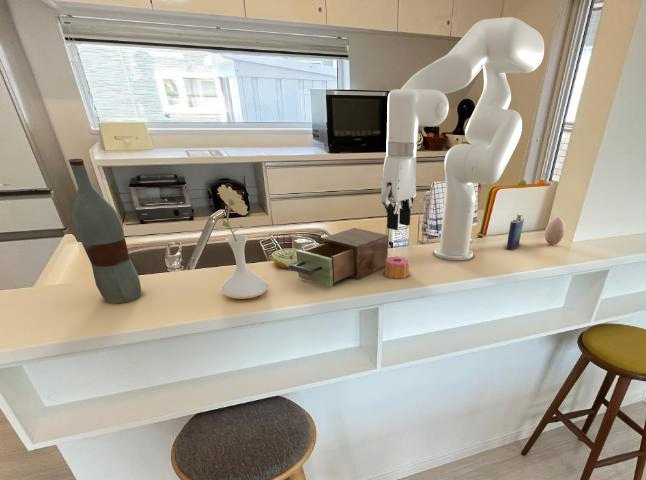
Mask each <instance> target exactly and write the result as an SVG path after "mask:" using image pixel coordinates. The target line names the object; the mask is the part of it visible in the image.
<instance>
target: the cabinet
mask: <svg viewBox="0 0 646 480" xmlns="http://www.w3.org/2000/svg"><path fill="white" fill-rule="evenodd" d="M327 242H329V243H333V244H337V245H341V246H346V247H350V248H354V249H355V274H353V275H351V276H348V277H347V278H352V279H356V280H359V279H361V278H364V277H365V276H368V275H370V274H373V273H374V272H377V271H379V270H382V269H383V268H384V269H385V261H386V258H389V257H388V256H389V254H388V253H389V234H385V233H380V232H375V231H371V230H366V229H361V228H357V227H351V228H349V229H346V230H343V231H340V232H337V233H334V234H329V235H327V236H324V237H321V244H324V243H327Z"/></svg>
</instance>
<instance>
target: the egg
mask: <svg viewBox="0 0 646 480" xmlns="http://www.w3.org/2000/svg"><path fill="white" fill-rule="evenodd" d="M565 233H566V224H565V222H564V220H563V219H562V218H560V217H554V218H552V219H551V220H550V221H549V222H548V224H547V225H546V228H545V230H544V240H545V241H546V243H547V244H549V245H551V246H554V245H558V244H559V243H560V242H561V241H562V240H563V239H564V237H565Z"/></svg>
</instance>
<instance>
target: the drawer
mask: <svg viewBox="0 0 646 480" xmlns="http://www.w3.org/2000/svg"><path fill="white" fill-rule="evenodd" d="M296 254H297V264H296V265H292V264H290V265H289V267H288V268H287V269H288V270H289V271H292V272H296V273H298V275H297V276H298V278H299V279H303V280H306V281H310V282H313V283H316V284H320V285H322V286H325V287H329V288H331V287H333V286H334V283H336V282H339V281H341V280H343V279H346V278H349V277H348V276H351V275H353V274H355V249H354V248H350V247H346V246H341V245H337V244H333V243H329V242H327V243H324V244H322V243H321V244H318V245H315V246H312V247H309V248H306V249H300V250H297V251H296Z"/></svg>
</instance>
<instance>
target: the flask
mask: <svg viewBox="0 0 646 480" xmlns="http://www.w3.org/2000/svg"><path fill="white" fill-rule="evenodd" d="M524 222H525V218H523V214H516V218H515V219H513V220H511V221H510V224H509V230H508V236H507V241H506V242H507V243H506V246H505V249H506V250H507V251H514V250H515V249H517V248H518V247H519V245H520V242H521V241H520V240H521V235H522V230H523V225H524Z"/></svg>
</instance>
